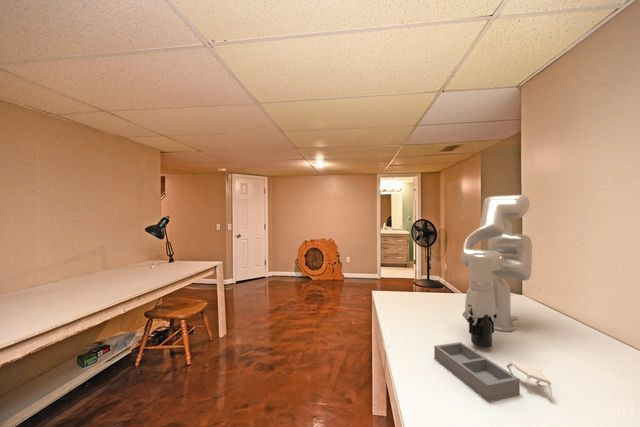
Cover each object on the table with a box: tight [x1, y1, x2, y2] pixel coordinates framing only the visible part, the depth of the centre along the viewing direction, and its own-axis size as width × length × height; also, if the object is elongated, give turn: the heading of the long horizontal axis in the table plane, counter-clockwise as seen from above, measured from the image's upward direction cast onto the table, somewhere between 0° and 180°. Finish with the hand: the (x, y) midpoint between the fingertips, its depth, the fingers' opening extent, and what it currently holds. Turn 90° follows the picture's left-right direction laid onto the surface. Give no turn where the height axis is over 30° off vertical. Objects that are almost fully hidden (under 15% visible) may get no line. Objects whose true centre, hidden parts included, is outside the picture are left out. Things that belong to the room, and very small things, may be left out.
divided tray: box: [434, 341, 521, 403], centre depth 79 cm, size 11×21×4 cm, turn 14°
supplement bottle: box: [470, 315, 493, 349], centre depth 95 cm, size 7×7×12 cm
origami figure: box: [506, 361, 553, 401], centre depth 74 cm, size 12×8×5 cm
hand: (481, 332), depth 95 cm, fingers closed on supplement bottle, 6 cm apart
